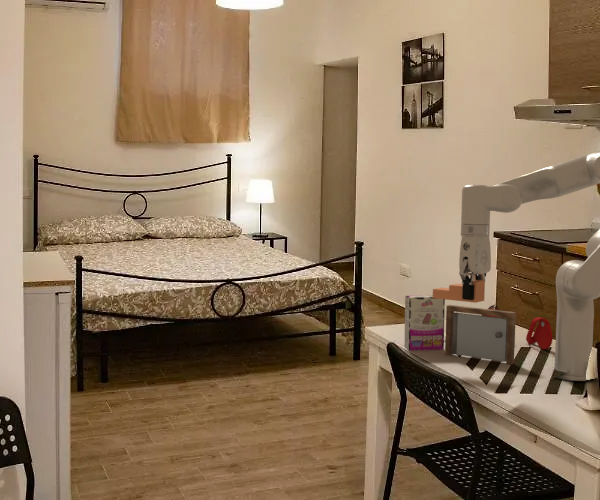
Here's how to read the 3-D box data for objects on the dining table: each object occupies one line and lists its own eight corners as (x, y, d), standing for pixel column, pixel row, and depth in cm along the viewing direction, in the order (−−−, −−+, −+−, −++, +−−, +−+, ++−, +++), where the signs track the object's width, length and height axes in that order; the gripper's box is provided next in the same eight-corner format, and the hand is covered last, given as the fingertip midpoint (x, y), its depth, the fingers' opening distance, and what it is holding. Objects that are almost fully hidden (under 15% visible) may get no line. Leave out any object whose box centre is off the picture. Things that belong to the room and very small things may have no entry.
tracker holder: (555, 352, 252) (556, 319, 251) (542, 353, 251) (543, 320, 250) (533, 345, 264) (534, 313, 263) (520, 345, 262) (522, 314, 262)
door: (506, 361, 236) (508, 318, 235) (502, 362, 233) (504, 319, 232) (453, 353, 246) (455, 312, 245) (449, 354, 244) (450, 313, 243)
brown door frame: (513, 363, 234) (515, 312, 233) (510, 364, 233) (512, 313, 232) (448, 353, 247) (449, 304, 246) (444, 354, 246) (446, 305, 244)
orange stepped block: (441, 296, 235) (441, 276, 234) (484, 300, 227) (484, 280, 226) (432, 298, 231) (433, 278, 230) (475, 302, 223) (476, 282, 222)
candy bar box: (438, 348, 256) (439, 294, 254) (444, 351, 251) (445, 296, 250) (403, 348, 254) (404, 294, 252) (408, 352, 249) (410, 297, 247)
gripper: (473, 232, 216) (471, 303, 217) (502, 230, 229) (499, 296, 230) (447, 231, 220) (445, 300, 222) (476, 229, 234) (474, 294, 235)
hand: (473, 297), depth 226 cm, fingers closed on orange stepped block, 5 cm apart
